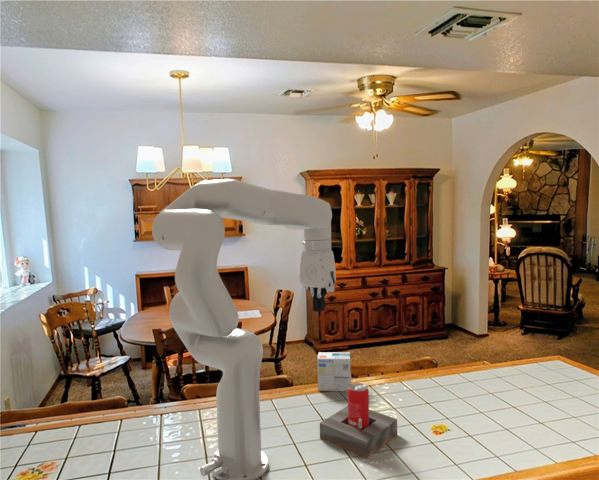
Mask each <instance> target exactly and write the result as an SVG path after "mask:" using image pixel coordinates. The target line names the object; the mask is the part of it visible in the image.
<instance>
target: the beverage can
mask: <svg viewBox="0 0 599 480" xmlns="http://www.w3.org/2000/svg"><path fill="white" fill-rule="evenodd" d="M369 397H370V395H369V388H368V386H367V385H366V383H365V384H364V383H360V382H354V383H351V384H350V385H349V388H348V391H347V406H348V425H349V426H352V427H355V428H357V429H360V430H364V429H365V428H367V427H368V426H369V410H370V405H369V404H370V402H369V401H370V400H369Z"/></svg>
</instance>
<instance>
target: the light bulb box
mask: <svg viewBox="0 0 599 480" xmlns="http://www.w3.org/2000/svg"><path fill="white" fill-rule="evenodd" d="M316 358H317V360H316V363H317V391H318V392H325V391H327V392H348V388H349V385H350V384H352V370H351V369H352V364H351V353H350V351H347V352H346V351H345V352H344V351H343V352H336V351H335V352H334V351H332V352H330V351H328V352H327V351H326V352H324V351H323V352H321V351H318V354H317V357H316Z"/></svg>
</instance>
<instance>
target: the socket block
mask: <svg viewBox="0 0 599 480" xmlns="http://www.w3.org/2000/svg"><path fill="white" fill-rule="evenodd" d="M397 435H398V419H397V418H395V417H391V416H390V415H386V414H383V413H381V412H378V411H375V410H371V409H369V426H368V427H367V428H365V429H364V430H360V429H357V428H355V427H352V426H349V425H348V405H346V406H345V407H344V408H342V409H340V410H338V411H337V412H335V413H334V414H332V415H330V416H329V417H327V418H325V419H324V420H322V421H320V422H319V439H321V440H323V441H326V442H327V443H331V444H332V445H335V446H336V447H339V448H342V449H344V450H346V451H348V452H350V453H353V454H355V455H357V456H360V457H361V458H364V459H369V458H370V457H371V456H372V455H374V454H375V453H376V452H378V451H379V450H380V449H381V448H382V447H384V446H385V445H386V444H387V443H388V442H390V441H391V440H392V439H394V438H395V437H396V436H397Z"/></svg>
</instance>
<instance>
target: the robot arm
mask: <svg viewBox="0 0 599 480" xmlns="http://www.w3.org/2000/svg"><path fill="white" fill-rule="evenodd" d="M223 219H229V220H236V221H242V222H247V223H254V224H259V225H265V226H283V227H284V228H287V229H288V230H289V229H290V230H303V241H302V246H304V250H302V252H301V257H300V265H299V267H300V268H299V282H300V284H301V285H302V287H303V288H304V289H305V290H307V291H308V292H310V296H311V297H312V311H313V312H318V313H320V312H323V311H325V308H326V307H325V306H326V305H325V304H326V303H325V301H326V300H325V297H327V295H328V294H329V293H332V292H335V285H336V282H337V274H336V261H335V255H334V251H333V250H332V219H333V211H332V209H331V204H330V203H329V202H327V201H325V200H324V199H321V198H318V197H315V196H311V195H306V194H301V193H294V192H293V193H292V192H288V191H283V190H276V189H271V188H266V187H263V186H259V185H256V184H251V183H249V182H247V181H246V182H245V181H241V180H238V179H233V178H224V179H222V178H220V179H209V180H202V181H200V182H198V183H196V184H194V185H192V186H191V187H190V188H188V189H187V190H186V191H185V192H183V193H182V194H181V195H179V196H178V197H177V198H176V199H174V200H173V201H172V202H171V203H170V204H169V205H167V206H165V207H164V208H163V209H162V210H161V211H160V212H159V213H158V214H157V215H156V216H155V218H154V220H153V223H152V225H151V226H152V227H151V235H152V237H153V240H154V242H155V243H156V244H157V245H158V246H159V247H161V248H163V249H165V250H168V251H180V253H179V257H178V260H177V262H176V263H177V264H176V267H175V271H174V282H175V286H176V288H177V291H178V292H177V293H176V294H175V295H174V296H173V297H172V299H171V301H170V305H169V310H168V312H169V313H168V315H169V320H170V323H171V326H172V327H173V329H174V331H175V332H176V334H177V336H178V338H179V339H180V341H181V342H182V343H183V345H184V346H185V348H186V350H187V351H188V353H189V355H191V357H192V358H193V359H194V360H195V361H196V362H198V363H199V364H201V365H203V366H208V367H210V368H214V369H217V370H220V371H221V372H222V376H221V379H220V381H219V383H218V385H217V388H216V393H215V394H216V397H215V398H216V402H215V403H216V414H217V415H216V420H217V421H216V425H217V445H218V446H217V448H218V449H217V451H215V452H214V456H213V457H214V458H213V459H212V460H211V461H210V462H209V463H206V464H205V465H203V466H201V467H199V473H200V475H201V476H202V477H206V476H207V475H210V474H212V476H213V477H214V478H216V479H217V480H257V479H259V478H260V477H262V476H263V475H264V474H265V473H266V472H267V470H268V468H269V458H268V455H267V454H266V453H265V452H264V451H262V439H261V438H262V436H261V435H262V433H261V405H260V404H261V402H260V376H261V375H260V374H261V366H262V360H263V353H264V349H263V342H262V341H261V339H260V338H259V336H258V335H257V334H255V333H253V332H252V331H249V330H247V329H243V328H239V327H238V324H239V313H238V310H237V307H236V305H235V303H234V301H233V299H232V297H231V295H230V293H229V291H228V289H227V287H226V286H225V284H224V282H223V280H222V278H221V276H220V274H219V271H218V270H219V269H218V259H219V258H218V257H219V254H220V250H221V248H222V245H223V243H224V239H225V235H226V234H225V233H226V231H225V230H226V229H225V223H224V220H223Z"/></svg>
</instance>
